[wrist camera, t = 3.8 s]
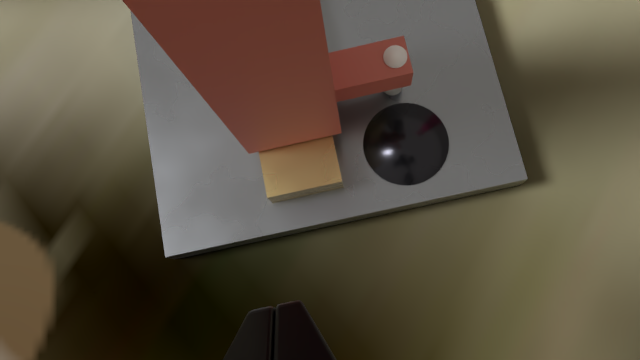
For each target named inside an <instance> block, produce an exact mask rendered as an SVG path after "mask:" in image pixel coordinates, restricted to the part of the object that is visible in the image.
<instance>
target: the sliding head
mask: <svg viewBox="0 0 640 360" xmlns="http://www.w3.org/2000/svg"><path fill="white" fill-rule="evenodd" d="M123 2H124V3H125V4H126V5H127V6H128V8H129V9H130V10H131V11H132V13H133V14H134V15H135V16H136V17H137V19H138V20H139V21H140V22H141V23H142V25H143V26H144V27H145V28H146V30H147V31H148V32H149V33H150V34H151V36H152V37H153V38H154V39H155V40H156V42H157V43H158V44H159V45H160V47H161V48H162V49H163V50H164V51H165V53H166V54H167V55H168V56H169V57H170V59H171V60H172V61H173V62H174V63H175V65H176V66H177V67H178V68H179V70H180V71H181V72H182V73H183V74H184V76H185V77H186V78H187V79H188V80H189V82H190V83H191V84H192V85H193V87H194V88H195V89H196V90H197V91H198V93H199V94H200V95H201V96H202V97H203V99H204V100H205V101H206V102H207V104H208V105H209V106H210V107H211V108H212V110H213V111H214V112H215V113H216V114H217V116H218V117H219V118H220V119H221V121H222V122H223V123H224V124H225V125H226V127H227V128H228V129H229V130H230V131H231V133H232V134H233V135H234V136H235V138H236V139H237V140H238V141H239V142H240V144H241V145H242V146H243V147H244V148H245V150H246V151H247V152H248V153H249V154H251V153H255V152H260V151H264V150H269V149H273V148H278V147H282V146H287V145H291V144H296V143H300V142H305V141H309V140H314V139H318V138H323V137H327V136H332V135H336V134H341V133H342V132H341V126H340V120H339V114H338V108H337V102H339V101H344V100H348V99H353V98H357V97H361V96H366V95H370V94H375V93H379V92H385V93H386V94H388V95H397V94H398V93H400V92H401V90H402V88H403V87H406V86H410V85H411V83H412V77H413V69H412V65H411V61H410V57H409V54H408V50H407V46H406V42H405V38H404V36H400V37H396V38H391V39H387V40H383V41H378V42H374V43H370V44H365V45H361V46H356V47H352V48H348V49H343V50H339V51H334V52H330V53H328V47H327V41H326V35H325V28H324V22H323V16H322V10H321V4H320V0H123Z"/></svg>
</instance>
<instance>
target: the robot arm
mask: <svg viewBox="0 0 640 360" xmlns="http://www.w3.org/2000/svg"><path fill="white" fill-rule="evenodd" d="M223 360H336V358H335V357H334V355H333V353H332V351H331V350H330V348H329V346H328V345H327V343H326V341H325V340H324V338H323V336H322V335H321V333H320V331H319V329H318V328H317V326H316V324H315V323H314V321H313V319H312V318H311V316H310V314H309V313H308V311H307V309H306V307H305V306H304V304H303V303H302V302H301V301H300V300H296V301H292V302H287V303H283V304H279V305H278V306H277V307H276V308H275V307H272V306H269V307H264V308H260V309H255V310H251V311H250V312H249V313H248V314H247V315H246V317H245V319H244V321H243V323H242V325H241V327H240V328H239V330H238V332H237V334H236V336H235V338H234V340H233V342H232V343H231V345H230V347H229V349H228V351H227V353H226V355H225V357H224V358H223Z"/></svg>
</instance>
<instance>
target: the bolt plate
mask: <svg viewBox="0 0 640 360" xmlns="http://www.w3.org/2000/svg"><path fill="white" fill-rule="evenodd" d="M320 4H321V10H322V16H323V22H324V28H325V35H326V41H327V47H328V53H330V52H334V51H339V50H343V49H348V48H352V47H356V46H361V45H365V44H370V43H374V42H378V41H383V40H387V39H391V38H396V37H400V36H404V38H405V42H406V46H407V50H408V54H409V57H410V61H411V65H412V69H413V77H412V83H411V85H410V86H406V87H403V88H402V90H401V92H400V93H398V94H397V95H388V94H386V93H385V92H379V93H375V94H370V95H366V96H361V97H357V98H353V99H348V100H344V101H339V102H337V108H338V114H339V120H340V126H341V132H342V133H341V134H336V135H332V136H327V137H323V138H318V139H314V140H309V141H305V142H300V143H296V144H291V145H287V146H282V147H278V148H273V149H269V150H264V151H260V152H255V153H251V154H249V153H248V152H247V151H246V150H245V148H244V147H243V146H242V145H241V144H240V142H239V141H238V140H237V139H236V138H235V136H234V135H233V134H232V133H231V131H230V130H229V129H228V128H227V127H226V125H225V124H224V123H223V122H222V121H221V119H220V118H219V117H218V116H217V114H216V113H215V112H214V111H213V110H212V108H211V107H210V106H209V105H208V104H207V102H206V101H205V100H204V99H203V97H202V96H201V95H200V94H199V93H198V91H197V90H196V89H195V88H194V87H193V85H192V84H191V83H190V82H189V80H188V79H187V78H186V77H185V76H184V74H183V73H182V72H181V71H180V70H179V68H178V67H177V66H176V65H175V63H174V62H173V61H172V60H171V59H170V57H169V56H168V55H167V54H166V53H165V51H164V50H163V49H162V48H161V47H160V45H159V44H158V43H157V42H156V40H155V39H154V38H153V37H152V36H151V34H150V33H149V32H148V31H147V30H146V28H145V27H144V26H143V25H142V23H141V22H140V21H139V20H138V19H137V17H136V16H135V15H134V14H133V13H132V11H131V17H132V24H133V31H134V38H135V45H136V52H137V60H138V67H139V74H140V81H141V88H142V95H143V102H144V109H145V116H146V123H147V130H148V138H149V145H150V152H151V159H152V166H153V173H154V180H155V187H156V194H157V201H158V208H159V216H160V223H161V230H162V237H163V244H164V251H165V257H167V258H172V259H179V258H184V257H189V256H193V255H198V254H203V253H207V252H212V251H217V250H221V249H226V248H230V247H235V246H240V245H244V244H249V243H254V242H258V241H263V240H268V239H272V238H277V237H281V236H286V235H291V234H295V233H300V232H305V231H309V230H314V229H319V228H323V227H328V226H333V225H337V224H342V223H346V222H351V221H356V220H360V219H365V218H370V217H374V216H379V215H384V214H388V213H393V212H397V211H402V210H407V209H411V208H416V207H421V206H425V205H430V204H435V203H439V202H444V201H449V200H453V199H458V198H462V197H467V196H472V195H476V194H481V193H486V192H490V191H495V190H500V189H504V188H509V187H513V186H518V185H521V184H522V183H523V182H525V181H526V180H527V179H528V178H527V174H526V171H525V167H524V164H523V161H522V157H521V154H520V151H519V147H518V144H517V140H516V137H515V134H514V130H513V127H512V124H511V120H510V117H509V113H508V110H507V107H506V103H505V100H504V96H503V93H502V90H501V86H500V83H499V80H498V76H497V73H496V69H495V66H494V63H493V59H492V56H491V53H490V49H489V46H488V42H487V39H486V36H485V32H484V29H483V25H482V22H481V19H480V15H479V12H478V9H477V5H476V2H475V0H320Z"/></svg>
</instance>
